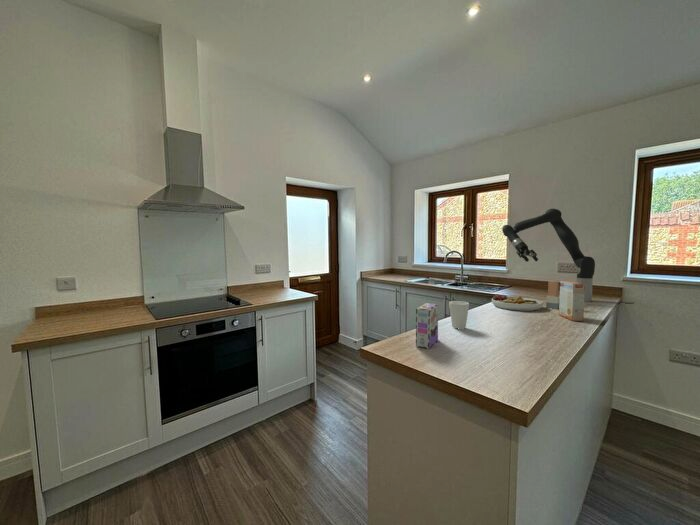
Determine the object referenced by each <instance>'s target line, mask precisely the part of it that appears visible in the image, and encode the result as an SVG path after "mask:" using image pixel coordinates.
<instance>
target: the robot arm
mask: <svg viewBox="0 0 700 525" xmlns="http://www.w3.org/2000/svg"><path fill="white" fill-rule="evenodd" d="M548 223H550V225H551V226H552V227H553V228H554V230H555V231H554V232H556V234H557V236H558V238H559V240H560V241H561V244H563V246H564V247H565V249H566V251H568V253H569V256H570V258H572V261H573V263H574V265H575V266H576V268H579V269H580V270H579V272H578V273H577V274H576V282H578V283H582V284H585V289H584V303H590V302H593V279H594V278H593V277H594V275H595V269H596V261H595V259H594V258H593V257H592V256H586V255H584V254H583V252H582V251H581V249H580V243H579V239H578V237H577V236H576V235H575V233H574V232H573V230H572V229H571V228H570V227H569V225H568V224H566V223H565V221H564V220H563V218H562V212H561V210H559V209H557V208H549V209H548V210H546V212H545V213H543V214H541V215H537V216H536V217H533V218H532V217H531V218H528V219H524V220H521V221H519V222H516V223H514V224H515V225H514V226H513V227H512V225H511V224H504V225H503V226H502V228H501V229H502V230H501V231H502V233H503V236H505V237H507V238H508V240H509V242H510V244H511V245H512V246H513V247H514V249H515V250H516V254H517V255H518V257H519V258H522V259H523V260H524V261H525V262H529V260H530V259H529V258H528V257H531V258H532V259H533V260H534V261H535V262H538V261H539V258H538V257H537V256H538V254H537V253H536V252H535V250H534V249H529V246H528V244H526V242H525V241H524V240H523V239H522V238H521V237H520V236H519V234H518V233H520V232H522V231H525V230H529V229H531V228H533V227H536V226H539V225H543V224H548ZM527 256H528V257H527Z"/></svg>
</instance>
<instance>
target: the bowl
mask: <svg viewBox="0 0 700 525" xmlns="http://www.w3.org/2000/svg"><path fill="white" fill-rule="evenodd" d="M491 304H493V306H495V307H496V306H497V307H496V308H499V309H502V308H503V309H502V310H507V309H509V310H508V311H515V310H517V312H534V310H535V311H537V310H540V309H541V308H542V307H543V304H544V302H543V301H542V300H539V299H536V298H535V299H534V298H529V297H521V295H519V296H506V295H505V294H500V293H499V294H498V293H497V294H494V295H493V297H492V298H491Z"/></svg>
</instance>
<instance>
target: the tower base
mask: <svg viewBox="0 0 700 525" xmlns="http://www.w3.org/2000/svg"><path fill="white" fill-rule="evenodd" d="M559 303H560V302H559ZM559 303H549V302H547V301H546V306H545V308H546V309H550V308H552V309H551V310H559V309H558V308H559Z"/></svg>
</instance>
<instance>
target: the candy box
mask: <svg viewBox="0 0 700 525" xmlns="http://www.w3.org/2000/svg"><path fill="white" fill-rule="evenodd" d="M438 340H439V304H438V303H430V302H429V303H427V302H425V303H424V304H422V305H421V306H418V307H417V308H415V347H416V348H417V347H418V348H423V349H426V350H427V349H430V348H432V346H434V344H435V343H437V341H438Z"/></svg>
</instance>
